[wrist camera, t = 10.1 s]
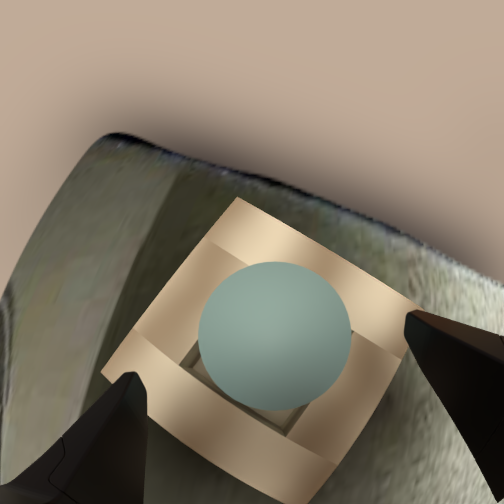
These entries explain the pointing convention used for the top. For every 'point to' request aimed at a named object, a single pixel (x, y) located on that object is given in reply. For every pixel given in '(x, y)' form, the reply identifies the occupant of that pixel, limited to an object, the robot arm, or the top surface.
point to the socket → (245, 417)
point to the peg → (274, 336)
